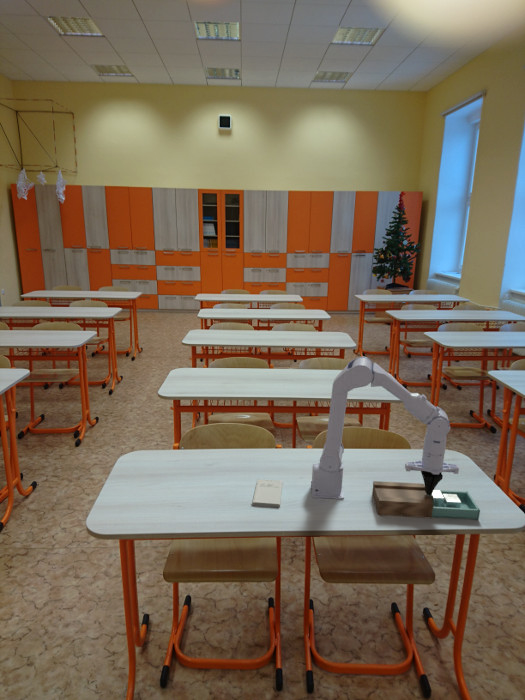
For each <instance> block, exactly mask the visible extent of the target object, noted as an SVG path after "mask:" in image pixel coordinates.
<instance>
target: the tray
mask: <svg viewBox="0 0 525 700" xmlns="http://www.w3.org/2000/svg"><path fill="white" fill-rule="evenodd" d="M439 490H440V489H439ZM440 491H441V493H442V495H443V494H457V496H458V498H459V500H460V501H461V507H460V508H448V507H444V506H443V507H433V510H432V518H440V517H442V519H459V520H460V519H461V520H462V519H463V520H479V519H480V513H481V510H480V508H479V507H478V505H477V504H476V502H475V501H474V499H473V497H472V496H471V494H470V493H469V491H462V490H461V491H460V490H444V489H443V490H442V489H441V490H440ZM428 496H429V495H428Z"/></svg>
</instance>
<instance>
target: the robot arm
mask: <svg viewBox="0 0 525 700" xmlns="http://www.w3.org/2000/svg"><path fill="white" fill-rule="evenodd" d="M369 385H370V387H371V388H372V387H373V388H374V387H375V388H376V387H382V388H383V389H385V391H387V392H389V393H390V394H392V395H393V396H394V397H395V398H397V399H399V400H400V402H401V401H402V403H403V408H404V409H405V410H406V411H407V412H408V413H410V415H412V416H413V417H414V418H415V419H417V420H418V421H419V422H421V423H423V424H424V425H426V431H425V434H424V439H423V440H424V441H423V449H422V455H421V456H422V458H421V460H414V461H405V464H404V468H405V471H406V472H411V471H414V472H415V471H417V472H418V471H419V472H420V473H421V476H422V480H423V484H424V486H425V492H426V494H427V495H432V493H433V490H435V489H436V487H437V485H438V484H439V483H440V482H441V481H442V480H443V476H444V475H443V473H453V474H455V475H459V471H460V470H459V469H460V467H459V466H458V465H457V464H456V463H449V462H445V461H444V460H445V453H446V446H447V445H446V444H447V440H448V439H447V436H448V434H449V432H450V430H451V425H450V420H449V417H448V414H447V413H446V411H444V409H443V408H441V407H439V406H438V405H437V406H435V405H434V404H432V403H431V402H430V401H429V400H428V398H427V396H426V395H425V394H423V393H422V394H420V393H418V392H410V391H409V390H408V389H407V388H405V386H403V385H402V384H401V383H400V382H398V380H396V379H395V378H394V377H393V376H392V375H390V374H389V373H388V372H387V371H386V370H385V369H384V368H382V367H381V366H380V365H379V364H378V363H376V362H373V360H371V359H370V358H369V357H366V356H358V357H356V358H354V359H352V360H351V361H349V362H348V363H347V365H346V366H345V367H344V368H343V369H342V370H341V371H340V373H338V375H337V376H336V377H335V378H334V380H333V383H332V388H331V389H332V390H331V397H330V398H331V399H330V404H329V405H330V406H329V415H328V422H327V423H328V424H327V432H326V438H325V443H324V444H323V449H322V452H321V456H320V459H319V462H318V463H314V464H312V473H311V481H310V487H311V491H312V493H311V494H312V495H311V496H312V497H313V498H317V499H319V498H321V499H338V500H344V498H345V495H344V490H343V477H344V475H343V473H344V463H343V462H342V458H343V454H344V451H345V448H344V445H343V441H342V440H343V433H344V425H345V416H346V409H347V402H348V393H349V392H350V391H353V390H354V389H359V388H360V389H361V388H363V387H366V386H369Z"/></svg>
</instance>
